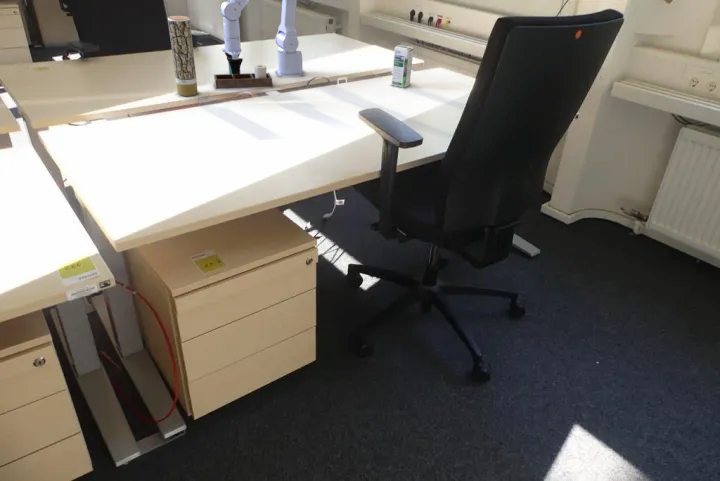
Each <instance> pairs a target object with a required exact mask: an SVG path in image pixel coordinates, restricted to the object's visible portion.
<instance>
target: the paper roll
mask: <svg viewBox="0 0 720 481" xmlns="http://www.w3.org/2000/svg"><path fill="white" fill-rule="evenodd" d="M227 64H228V74H232V71H231V67H230V64H229V62H228V61H227ZM239 74H241V72H240V73H239Z"/></svg>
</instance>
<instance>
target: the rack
mask: <svg viewBox="0 0 720 481" xmlns="http://www.w3.org/2000/svg"><path fill="white" fill-rule="evenodd" d="M266 76H267V78H255V72H254V73H240V74H229V73H222V74H219V73H218V74H213V81H214V85H215V86H214V87H215V89H216V90H217V89H220V90H221V89H243V88H245V89H247V88H272V87H273V77H272V76H271V74H270V73H269V72H266Z"/></svg>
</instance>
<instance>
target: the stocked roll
mask: <svg viewBox="0 0 720 481" xmlns="http://www.w3.org/2000/svg"><path fill="white" fill-rule="evenodd" d="M254 73H255V78H267V76H266V73H267V66H266V65H265V64H256V65H254Z"/></svg>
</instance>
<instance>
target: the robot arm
mask: <svg viewBox="0 0 720 481" xmlns="http://www.w3.org/2000/svg"><path fill="white" fill-rule="evenodd" d="M249 1H250V0H226V1H223V2H222V3H221V5H220V8H219V12H220V15H222V22H223V23H222V25H223V26H222V28H223V38H224V48H222V49H221V52H223V53H224V55H225V56H226V60H227V63H228V62H229V64H230V67H231V71H232V74H239V73H240V74H241V66H242V64H243V60H244V59H243V58H241V57H240V55H241V53H242V52H243V51H242V46H241V45H242V44H241V29H240V17H242V16H241V14H242V11H243V9H244V8H245V6H246V5H247V4H248V3H249ZM297 2H298V0H282V1H281V14H280V17H281V18H280V23H279V25H278V28H277V33H276V35H275V39H274V41H275V44H276V45H277V69H276V70H275V71H276V74H277V75H278V76H279V77H288V76H292V77H293V76H303V75H304V74H303V54H302V51H301V50H298V48H299V45H300V44H299V39H298V31H297V28H296V25H295V24H296V16H297V15H296V14H297ZM229 64H228V65H229Z"/></svg>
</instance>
